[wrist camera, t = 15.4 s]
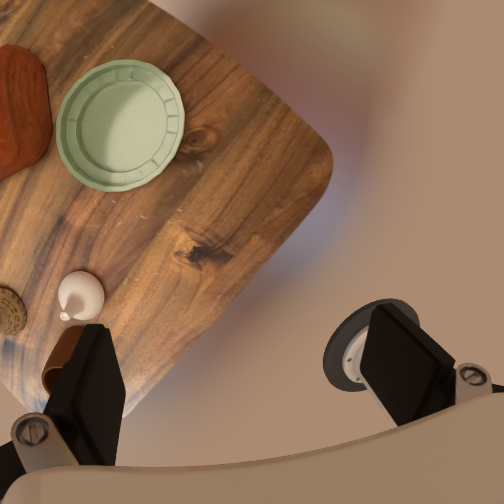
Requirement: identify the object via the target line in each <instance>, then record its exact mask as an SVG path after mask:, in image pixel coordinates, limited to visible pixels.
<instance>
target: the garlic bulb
mask: <svg viewBox="0 0 504 504" xmlns="http://www.w3.org/2000/svg"><path fill="white" fill-rule="evenodd" d="M58 297H59V302H60V305H61V307H62V308H63V312H61V313H60V317H61V319H62V320H64V321H66V320H69V319H70V318H72V317H73V318H75V319H78V320H88V319H91V318H93V317H95V316H96V315H97V314H98V313H99V312H100V311H101V309H102V307H103V304H104V291H103V288H102V286H101V284H100V282H99V281H98V280H97V279H96V278H95V277H94V276H93V275H91V274H89V273H87V272H84V271H75V272H72V273H70V274H68V275H67V276H66V277H65V278H64V279H63V280H62V282H61V284H60V287H59V292H58Z"/></svg>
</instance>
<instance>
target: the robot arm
mask: <svg viewBox="0 0 504 504" xmlns="http://www.w3.org/2000/svg"><path fill="white" fill-rule="evenodd" d="M454 364H455V359H454V358H453V357H452V356H450V355H449V354H448V353H447V352H446V351H445V350H444V349H443V348H442V347H441V346H440V345H439V344H438V343H437V342H435V341H434V340H433V339H432V338H431V337H430V336H429V335H428V334H426V333H425V332H424V331H423V330H422V329H421V328H420V327H419V326H418V325H417V324H416V323H415V322H413V321H412V320H411V319H410V318H409V317H408V316H407V315H406V314H404V313H403V312H402V311H401V310H400V309H399V308H398V307H396V306H395V305H394V304H393V303H385V304H378V305H377V306H376V308H375V309H373V311H372V314H371V318H370V323H369V325H368V326H366V327H365V328H363V329H362V330H361V331H360V332H359V333H357V334H356V335H355V337H354V338H353V339H352V340H351V341H350V343H349V344H348V346H347V348H346V350H345V352H344V355H343V359H342V366H343V370H344V372H345V374H346V375H347V377H348V378H349V379H350V380H352V381H354V382H357V383H364V385H365V386H366V388H367V389H368V391H369V392H370V394H371V395H372V397H373V398H374V399H375V401H376V402H377V404H378V405H379V407H380V408H381V410H382V411H383V413H384V414H385V416H386V417H387V419H388V420H389V422H390V423H391V424H392V426H393V427H394V428H393V429H390V430H388V431H384V432H381V433H378V434H375V435H371V436H368V437H365V438H361V439H358V440H354V441H350V442H347V443H343V444H339V445H335V446H331V447H327V448H322V449H318V450H314V451H309V452H304V453H299V454H294V455H288V456H282V457H276V458H270V459H264V460H256V461H248V462H240V463H230V464H219V465H206V466H185V467H125V466H115V460H116V453H117V446H118V439H119V432H120V426H121V420H122V414H123V408H124V403H125V397H126V391H125V386H124V382H123V379H122V376H121V372H120V368H119V365H118V361H117V357H116V354H115V350H114V346H113V342H112V337H111V333H110V330H109V329H108V328H105V327H104V325H103V324H87V325H86V326H85V328H84V330H83V332H82V334H81V336H80V338H79V340H78V342H77V344H76V346H75V349H74V351H73V353H72V355H71V357H70V359H69V361H66V362H65V364H64V365H63V367H62V370H61V372H60V374H59V376H58V378H57V381H56V383H55V385H54V388H53V390H52V392H51V395H50V397H49V399H48V402H47V404H46V407H45V409H44V412H43V414H42V413H38V412H34V413H28V414H25V415H23V416H21V417H19V418H18V419H17V420H16V421H15V422H14V424H13V426H12V429H11V438H12V441H10V442H8V443H6V444H4V445H2V446H0V504H504V386H500V385H496V384H491V378H490V375H489V373H488V372H487V371H486V370H485V369H484V368H482V367H481V366H479V365H476V364H472V363H465V364H461V365H459V366H458V367H457V369H456V370H455V369H454V368H453V366H454Z"/></svg>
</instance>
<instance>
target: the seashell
mask: <svg viewBox="0 0 504 504" xmlns="http://www.w3.org/2000/svg"><path fill="white" fill-rule="evenodd" d="M26 321H27V314H26V310H25V307H24V305H23V303H22V302H21V300H20V299H19V298H18V297H17V296H16V295H15V294H14V293H13V292H11V291H9V290H8V289H5V288H4V289H3V288H0V333H1V334H4V335H13V334H16V333H18V332H20V331H21V330H22V329H23V328H24V327H25V324H26Z"/></svg>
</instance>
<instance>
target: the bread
mask: <svg viewBox="0 0 504 504" xmlns="http://www.w3.org/2000/svg"><path fill="white" fill-rule="evenodd" d="M51 132H52V121H51V115H50V108H49V101H48V93H47V84H46V74H45V71H44V69H43V67H42V65H41V64H40V62H39V61H38V60H37V59H36V57H35V56H34V55H33V54H32V53H31V52H30V51H29V49H25V48H22V47H20V46H15V45H9V44H6V45H4V46H2V47H1V48H0V180H2V179H4V178H6V177H8V176H10V175H12V174H14V173H16V172H18V171H20V170H22V169H24V168H26V167H28V166H30V165H32V164H34V163H36V162H37V161H38V159H39V158H40V157H41V156H42V155H43V153H44V151H45V150H46V148H47V146H48V145H49V140H50V136H51Z"/></svg>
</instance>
